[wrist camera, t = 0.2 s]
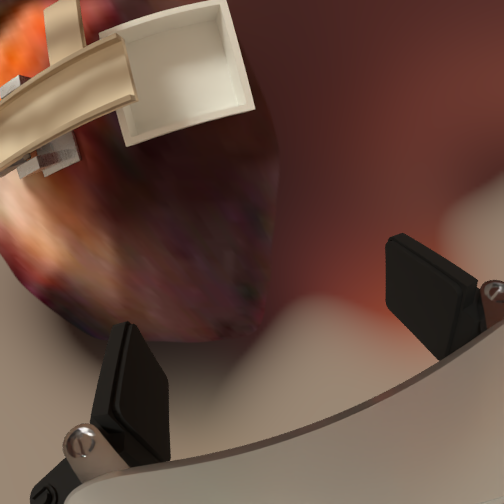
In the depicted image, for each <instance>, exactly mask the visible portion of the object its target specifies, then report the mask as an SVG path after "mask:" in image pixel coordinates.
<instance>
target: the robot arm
mask: <svg viewBox="0 0 504 504" xmlns="http://www.w3.org/2000/svg"><path fill="white" fill-rule="evenodd" d="M385 253H386V305H387V307H388V309H389V310H390V311H391V312H392V313H393V314H394V315H395V316H396V317H397V318H398V319H399V320H400V321H401V322H402V323H403V324H404V325H405V326H406V327H407V328H408V329H409V330H410V331H411V332H412V333H413V334H414V335H415V336H416V337H417V338H418V339H419V340H420V341H421V343H423V345H424V346H425V347H426V348H427V349H428V350H429V351H430V352H431V353H432V354H433V355H434V356H435V357H436V358H437V359H438V360H439V362H437V363H436V364H434V365H433V366H431V367H429V368H428V369H426V370H424V371H422V372H421V373H419V374H417V375H415V376H414V377H412V378H410V379H408V380H406V381H405V382H403V383H401V384H399V385H397V386H395V387H393V388H391V389H390V390H388V391H386V392H384V393H382V394H380V395H378V396H375V397H374V398H372V399H369V400H367V401H365V402H363V403H361V404H358V405H357V406H354V407H352V408H350V409H347V410H345V411H343V412H340V413H338V414H336V415H333V416H331V417H328V418H326V419H323V420H321V421H318V422H315V423H313V424H310V425H307V426H304V427H302V428H299V429H296V430H293V431H290V432H287V433H284V434H281V435H278V436H275V437H272V438H269V439H265V440H262V441H258V442H255V443H251V444H247V445H244V446H240V447H236V448H232V449H228V450H224V451H219V452H215V453H210V454H205V455H201V456H196V457H191V458H186V459H181V460H175V461H170V458H171V454H170V433H169V395H168V394H169V392H168V391H169V389H168V388H169V385H168V379H167V377H166V375H165V373H164V371H163V370H162V368H161V367H160V365H159V363H158V362H157V360H156V358H155V357H154V355H153V353H152V352H151V350H150V348H149V347H148V345H147V343H146V342H145V340H144V338H143V336H142V335H141V333H140V331H139V329H138V328H137V326H136V325H135V324H131V323H130V322H128V321H127V322H123V323H119V324H116V325H113V327H112V330H111V333H110V337H109V341H108V344H107V348H106V352H105V356H104V359H103V364H102V368H101V372H100V376H99V380H98V384H97V389H96V394H95V398H94V403H93V408H92V413H91V419H90V424H88V423H85V424H84V423H83V424H80V425H77V426H75V427H74V428H72V429H71V430H70V431H69V432H68V433H67V435H66V436H65V438H64V441H63V453H64V455H65V457H66V458H65V459H63V460H62V461H61V462H60V463H59V464H58V465H57V466H56V467H55V468H54V469H53V470H52V471H50V472H49V473H48V474H47V475H46V476H45V477H44V478H43V479H42V480H41V481H40V482H39V483H37V484H36V485H35V486H34V488H33V489H32V492H31V495H30V504H504V282H503V281H500V280H490V281H487V282H485V283H483V284H482V286H481V288H480V289H479V288H477V282H478V280H477V279H476V278H474V277H473V276H471V275H470V274H468V273H467V272H465V271H464V270H462V269H461V268H459V267H458V266H456V265H455V264H453V263H451V262H450V261H448V260H447V259H445V258H444V257H442V256H441V255H439V254H437V253H436V252H434V251H432V250H431V249H429V248H428V247H426V246H424V245H423V244H421V243H419V242H418V241H416V240H414V239H413V238H411V237H409V236H408V235H406V234H404V233H401V234H398V235H395V236H392V237H390V238H389V239H388V242H387V243H386V246H385ZM167 461H169V462H167Z"/></svg>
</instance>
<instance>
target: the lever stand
mask: <svg viewBox="0 0 504 504" xmlns="http://www.w3.org/2000/svg"><path fill="white" fill-rule="evenodd" d="M30 79H31V78H29V77H25V76H21V75H18V76H16V77H15V78H13V79H12V80H10V81H9V82H7V83H6V84H5V85H3V86H2V87H0V97H1V99H3V98H5V97H6V96H7V95H9V94H10V93H11V92H13V91H14V90H15V89H17V88H18V87H20V86H21V85H22V84H24V83H25V82H27V81H28V80H30ZM36 151H37V154H38V156H36V157H34V158H32V159H30V160H29V161H27V162H25V163H23V164H22V165H20V166H18V167H17V171H18V174H19V177H20V179H22V178H24V177H27V176H30V175H32V174H35V173H38V172H41V171H43V174H44V177H47V176H49V175H51V174H53V173H55V172H57V171H59V170H61V169H63V168H65V167H67V166H69V165H71V164H74V163H76V162H78V161H80V160H82V159H81V155H80V152H79V149H78V145H77V142H76V138H75V134H74V131H73V130H71V131H69V132H67V133H66V134H64V135H62V136H60V137H58V138H56V139H54V140H52V141H50V142H49V143H47V144H45V145H43V146H42V147H40V148H38V149H36Z"/></svg>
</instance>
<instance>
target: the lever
mask: <svg viewBox="0 0 504 504" xmlns="http://www.w3.org/2000/svg"><path fill="white" fill-rule="evenodd" d="M44 20H45V31H46V39H47V47H48V54H49V61H50V67H48V68H47V69H45V70H44V71H42V72H40V73H39V74H37V75H36V76H34V77H33V78H31V79H30V80H28V81H27V82H25V83H24V84H22V85H21V86H20V87H18V88H17V89H15V90H14V91H13V92H11V93H10V94H9V95H7V96H6V97H5V98H3V99H2V100H1V101H0V177H3V176H5V175H6V174H8V173H9V172H11V171H13V170H14V169H16V168H17V167H18V166H20V165H22V164H23V163H25V162H27V161H26V160H27V159H29V158H31V155H30V153H31V152H33V151H35V150H36V149H38V148H40V147H42V146H43V145H45V144H47V143H49V142H50V141H52V140H54V139H56V138H58V137H60V136H62V135H64V134H66V133H67V132H69V131H71V130H73V129H75V128H77V127H80V126H82V125H84V124H86V123H88V122H90V121H92V120H94V119H97V118H99V117H101V116H103V115H106V114H108V113H110V112H113V111H115V110H117V109H120V108H122V107H125V106H127V105H130V104H133V103H135V102H138V101H139V99H138V95H137V91H136V87H135V83H134V79H133V75H132V71H131V67H130V63H129V58H128V54H127V49H126V45H125V40H124V38H122V37H121V36H119V35H118V34H117V33H114V34H112V35H109V36H107V37H105V38H103V39H101V40H99V41H96V42H94V43H92V44H90V45H88V46H86V41H85V35H84V29H83V23H82V16H81V9H80V1H79V0H59V1H58V2H56V3H54V4H53V5H51V6H49V7H48V8H46V9H45V10H44Z"/></svg>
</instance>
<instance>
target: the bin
mask: <svg viewBox="0 0 504 504" xmlns="http://www.w3.org/2000/svg"><path fill="white" fill-rule="evenodd" d="M114 33H117V34H118V35H119V36H121V37H122V38H124V40H125V45H126V49H127V54H128V58H129V63H130V67H131V71H132V75H133V79H134V83H135V87H136V91H137V95H138V99H139V101H138V102H135V103H133V104H130V105H127V106H125V107H122V108H120V109H117V110H116V112H117V116H118V120H119V124H120V127H121V131H122V134H123V138H124V141H125V145H126V147H128V146H132V145H136V144H138V143H141V142H144V141H147V140H150V139H153V138H156V137H159V136H162V135H165V134H168V133H171V132H174V131H177V130H181V129H184V128H187V127H191V126H194V125H198V124H201V123H205V122H208V121H212V120H216V119H220V118H224V117H228V116H232V115H236V114H240V113H245V112H248V111H251V110H254V109H255V106H254V102H253V98H252V94H251V90H250V86H249V82H248V78H247V74H246V70H245V66H244V63H243V59H242V55H241V51H240V48H239V44H238V40H237V37H236V33H235V29H234V26H233V22H232V19H231V15H230V12H229V8H228V5H227V1H226V0H209V1H204V2H199V3H194V4H189V5H185V6H181V7H177V8H173V9H169V10H165V11H161V12H158V13H154V14H151V15H148V16H144V17H141V18H138V19H135V20H132V21H129V22H126V23H124V24H121V25H118V26H116V27H113V28H110V29H108V30H105V31H103V32H100V33H99V37H100V40H101V39H103V38H105V37H107V36H109V35H112V34H114Z"/></svg>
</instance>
